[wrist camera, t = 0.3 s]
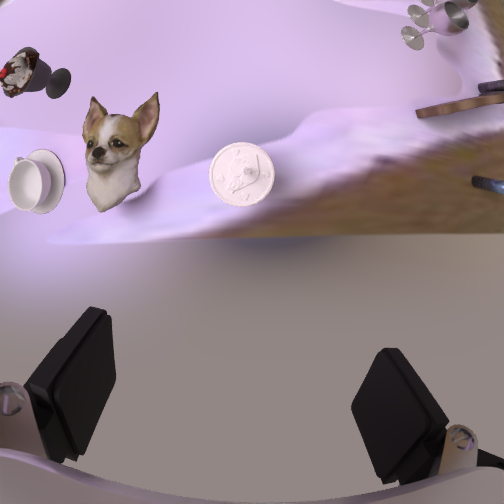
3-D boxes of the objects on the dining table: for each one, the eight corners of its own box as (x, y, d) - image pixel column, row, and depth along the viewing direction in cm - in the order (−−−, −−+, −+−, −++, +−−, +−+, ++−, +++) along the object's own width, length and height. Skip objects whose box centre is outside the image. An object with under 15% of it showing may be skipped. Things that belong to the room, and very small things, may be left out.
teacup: (76, 185, 36) (59, 189, 32) (40, 225, 38) (23, 233, 33) (46, 135, 33) (28, 135, 29) (12, 178, 35) (-6, 181, 30)
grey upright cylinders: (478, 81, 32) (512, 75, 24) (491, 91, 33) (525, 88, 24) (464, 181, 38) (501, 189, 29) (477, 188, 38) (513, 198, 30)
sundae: (36, 102, 31) (-29, 93, 17) (51, 62, 29) (-10, 40, 15) (66, 107, 32) (-1, 95, 18) (82, 64, 30) (22, 36, 16)
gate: (483, 93, 33) (514, 90, 25) (486, 104, 33) (518, 102, 26) (414, 107, 34) (446, 101, 26) (418, 120, 35) (451, 116, 27)
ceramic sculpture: (56, 213, 28) (67, 87, 25) (88, 205, 37) (97, 101, 33) (137, 216, 29) (150, 78, 26) (158, 207, 38) (167, 97, 34)
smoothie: (276, 165, 37) (297, 170, 23) (246, 205, 38) (250, 231, 25) (235, 136, 35) (233, 123, 22) (205, 176, 37) (187, 187, 23)
